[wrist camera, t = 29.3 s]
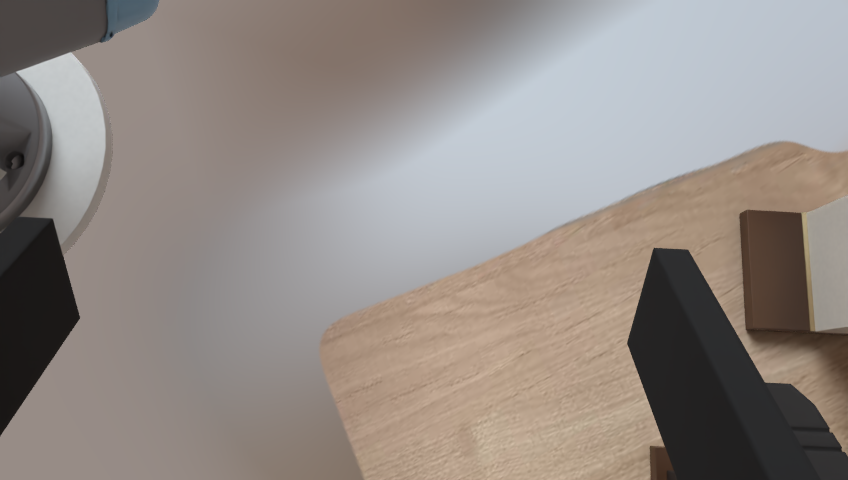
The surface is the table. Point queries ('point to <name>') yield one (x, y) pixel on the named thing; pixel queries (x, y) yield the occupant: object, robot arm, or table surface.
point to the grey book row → (661, 464)
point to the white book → (829, 265)
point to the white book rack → (777, 272)
